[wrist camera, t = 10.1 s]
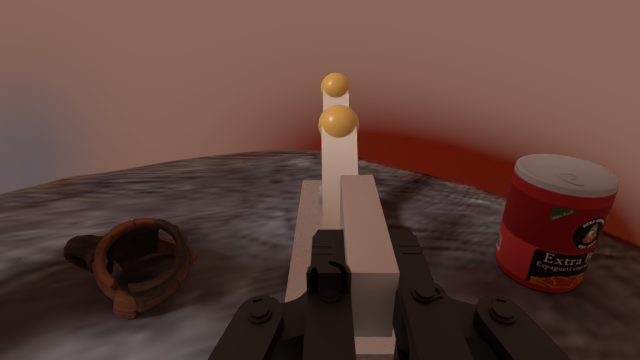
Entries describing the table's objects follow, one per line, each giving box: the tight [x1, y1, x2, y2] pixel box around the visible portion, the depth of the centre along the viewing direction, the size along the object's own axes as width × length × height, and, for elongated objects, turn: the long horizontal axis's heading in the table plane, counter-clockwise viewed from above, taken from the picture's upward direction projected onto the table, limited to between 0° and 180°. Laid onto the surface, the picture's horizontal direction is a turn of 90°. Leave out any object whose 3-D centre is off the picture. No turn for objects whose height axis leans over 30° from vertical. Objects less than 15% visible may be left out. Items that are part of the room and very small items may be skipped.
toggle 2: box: [319, 105, 359, 229], centre depth 29 cm, size 4×4×15 cm
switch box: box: [285, 180, 396, 360], centre depth 37 cm, size 10×32×4 cm, turn 179°
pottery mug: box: [64, 218, 197, 319], centre depth 33 cm, size 12×10×8 cm
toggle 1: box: [319, 73, 350, 197], centre depth 41 cm, size 4×4×15 cm
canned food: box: [495, 154, 620, 293], centre depth 32 cm, size 8×8×11 cm
